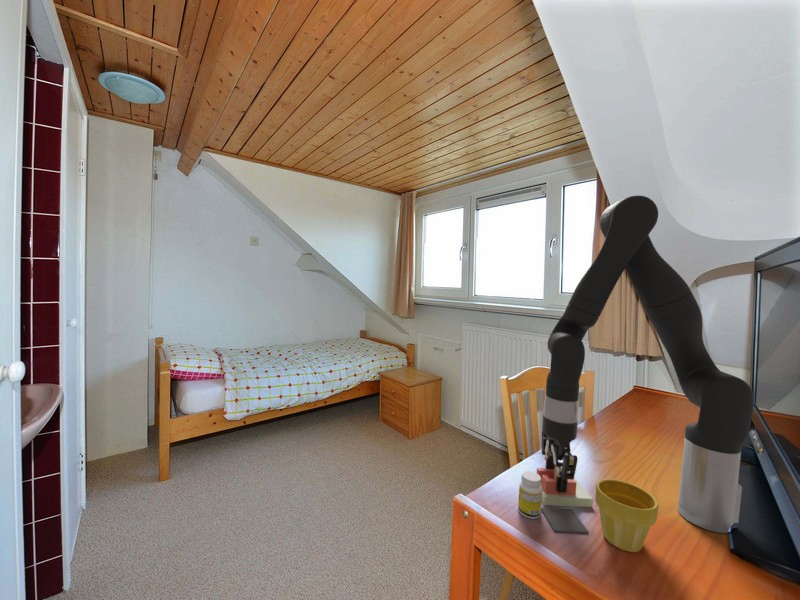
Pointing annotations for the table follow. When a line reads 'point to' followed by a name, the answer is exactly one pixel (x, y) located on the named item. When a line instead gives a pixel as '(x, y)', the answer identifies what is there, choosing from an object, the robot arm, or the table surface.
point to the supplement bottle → (530, 495)
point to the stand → (568, 497)
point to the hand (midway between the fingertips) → (555, 483)
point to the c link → (554, 482)
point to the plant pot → (625, 513)
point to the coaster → (564, 520)
